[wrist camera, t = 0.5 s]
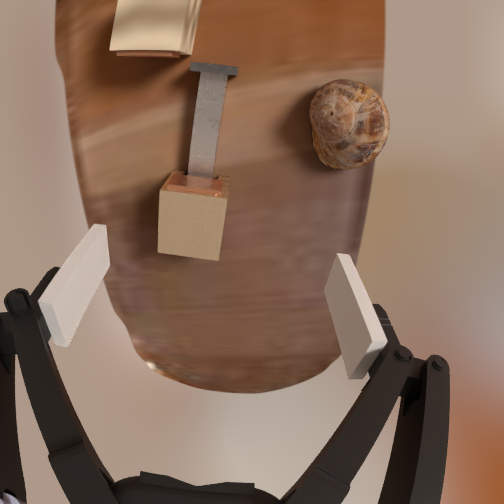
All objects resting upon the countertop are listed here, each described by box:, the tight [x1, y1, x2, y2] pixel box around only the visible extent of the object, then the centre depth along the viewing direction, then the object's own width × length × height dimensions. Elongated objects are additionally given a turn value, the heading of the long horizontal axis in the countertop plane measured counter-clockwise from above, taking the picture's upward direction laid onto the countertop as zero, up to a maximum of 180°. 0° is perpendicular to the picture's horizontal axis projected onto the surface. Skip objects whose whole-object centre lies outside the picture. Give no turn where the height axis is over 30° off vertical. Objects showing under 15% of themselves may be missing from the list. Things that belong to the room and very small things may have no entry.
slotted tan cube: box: [110, 0, 202, 58], centre depth 25 cm, size 9×7×8 cm
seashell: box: [309, 79, 389, 169], centre depth 33 cm, size 10×9×10 cm
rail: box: [158, 62, 239, 261], centre depth 35 cm, size 23×7×8 cm, turn 170°
